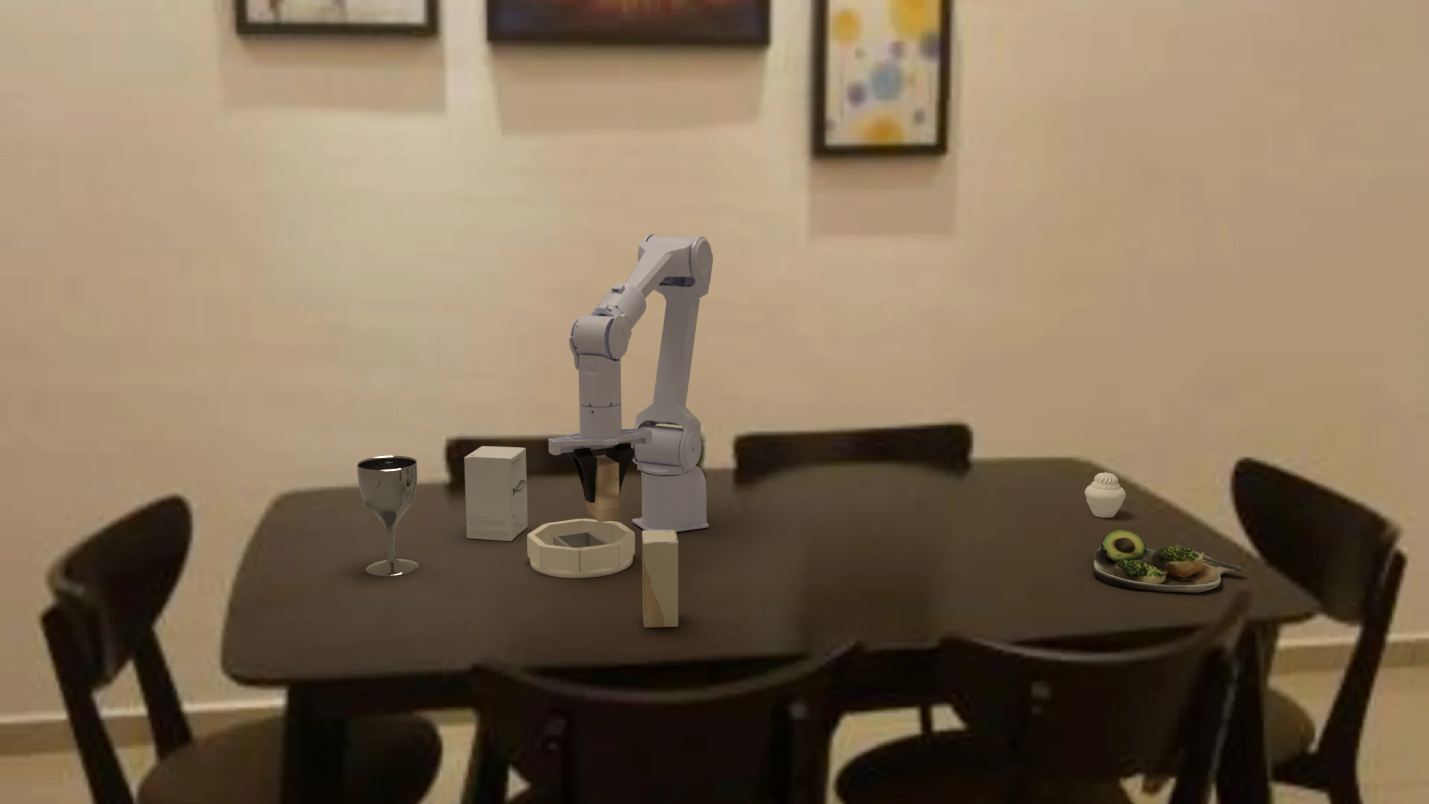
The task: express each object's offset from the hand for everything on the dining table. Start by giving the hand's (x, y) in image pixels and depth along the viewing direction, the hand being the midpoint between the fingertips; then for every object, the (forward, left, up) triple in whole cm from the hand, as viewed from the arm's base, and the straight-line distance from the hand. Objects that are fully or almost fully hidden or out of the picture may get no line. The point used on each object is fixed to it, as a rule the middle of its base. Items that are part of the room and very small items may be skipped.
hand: (602, 499), depth 190 cm
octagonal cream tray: (+2, -3, -9) cm, 10 cm away
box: (+2, +23, -10) cm, 25 cm away
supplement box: (+9, -21, -10) cm, 24 cm away
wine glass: (+27, -12, -10) cm, 31 cm away
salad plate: (-66, +36, -10) cm, 76 cm away
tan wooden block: (0, 0, -2) cm, 2 cm away
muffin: (-79, +12, -10) cm, 81 cm away
